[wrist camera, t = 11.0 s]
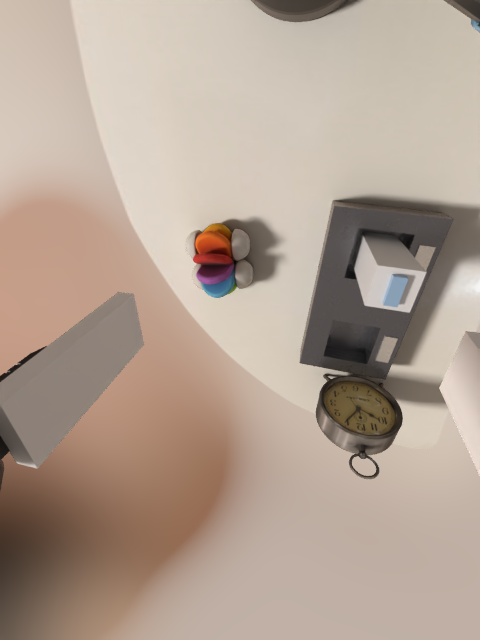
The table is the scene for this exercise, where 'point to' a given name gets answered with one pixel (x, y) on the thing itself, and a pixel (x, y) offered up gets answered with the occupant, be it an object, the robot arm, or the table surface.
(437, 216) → the panel
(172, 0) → the table surface
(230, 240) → the rainbow petal toy
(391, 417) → the alarm clock
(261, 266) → the table surface
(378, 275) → the plug
